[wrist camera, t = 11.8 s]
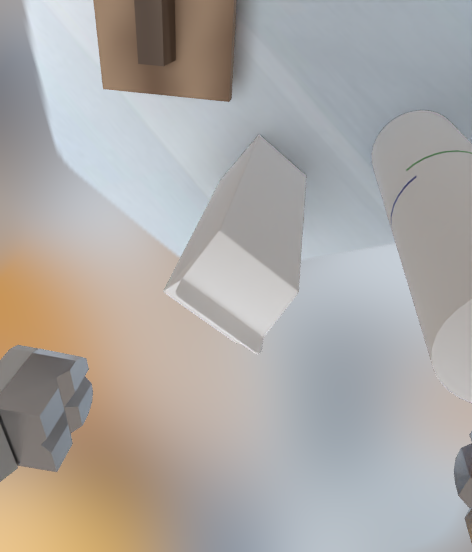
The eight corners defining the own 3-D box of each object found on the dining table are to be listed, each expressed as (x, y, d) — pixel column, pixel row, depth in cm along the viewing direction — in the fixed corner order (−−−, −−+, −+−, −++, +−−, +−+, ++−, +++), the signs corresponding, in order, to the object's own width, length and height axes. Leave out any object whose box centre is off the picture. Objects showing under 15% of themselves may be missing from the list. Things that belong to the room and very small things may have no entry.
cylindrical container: (354, 165, 39) (394, 362, 18) (409, 93, 35) (536, 242, 14) (417, 204, 40) (521, 431, 20) (477, 138, 36) (685, 337, 16)
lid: (239, -66, 27) (229, -73, 24) (231, 98, 33) (221, 111, 30) (91, -75, 28) (62, -83, 25) (108, 86, 34) (85, 96, 31)
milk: (259, 133, 39) (207, 256, 21) (307, 176, 40) (299, 326, 22) (219, 180, 42) (143, 324, 24) (265, 219, 43) (228, 381, 25)
